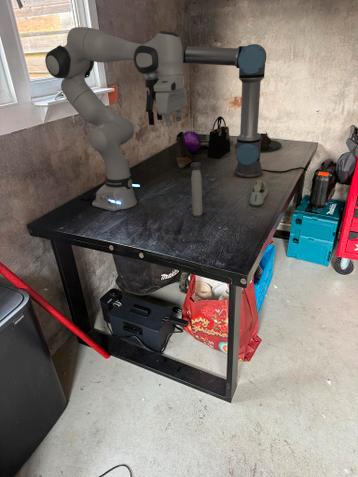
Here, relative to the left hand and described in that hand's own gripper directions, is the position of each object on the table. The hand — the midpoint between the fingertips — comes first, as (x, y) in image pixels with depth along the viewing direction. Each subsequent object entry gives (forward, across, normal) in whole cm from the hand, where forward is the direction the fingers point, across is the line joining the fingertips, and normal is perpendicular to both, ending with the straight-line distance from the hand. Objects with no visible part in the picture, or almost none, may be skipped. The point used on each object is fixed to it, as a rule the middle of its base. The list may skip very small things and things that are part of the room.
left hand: (174, 123), depth 126 cm
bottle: (+40, -6, +6) cm, 41 cm away
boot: (+40, -74, -27) cm, 88 cm away
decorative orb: (+40, -96, -32) cm, 109 cm away
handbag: (+40, -97, -11) cm, 106 cm away
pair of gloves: (+40, -122, -27) cm, 131 cm away
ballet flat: (+40, -31, +28) cm, 58 cm away
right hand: (+9, -44, -30) cm, 54 cm away
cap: (+17, -6, +6) cm, 19 cm away
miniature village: (+40, -123, +9) cm, 130 cm away
